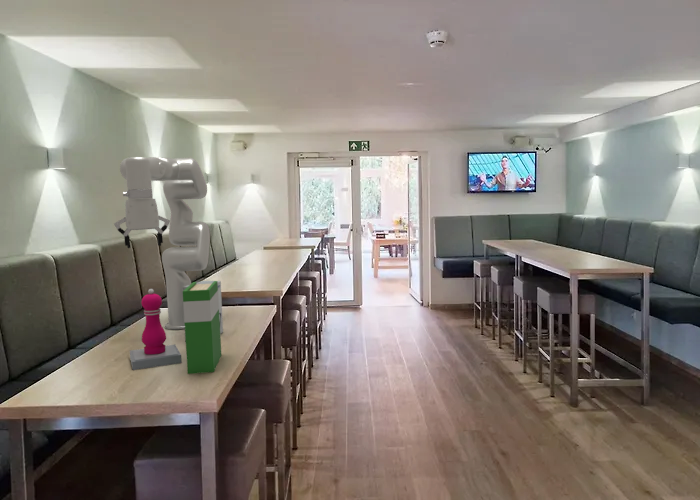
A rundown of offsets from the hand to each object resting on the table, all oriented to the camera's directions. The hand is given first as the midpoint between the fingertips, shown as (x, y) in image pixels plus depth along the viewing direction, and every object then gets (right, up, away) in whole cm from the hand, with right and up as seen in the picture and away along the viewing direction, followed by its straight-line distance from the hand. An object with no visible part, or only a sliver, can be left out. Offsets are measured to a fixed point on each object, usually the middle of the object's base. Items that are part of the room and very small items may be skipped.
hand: (144, 246), depth 182 cm
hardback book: (+25, -36, -16) cm, 46 cm away
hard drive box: (+16, -33, +16) cm, 40 cm away
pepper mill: (+7, -33, -11) cm, 36 cm away
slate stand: (+8, -36, -11) cm, 38 cm away
